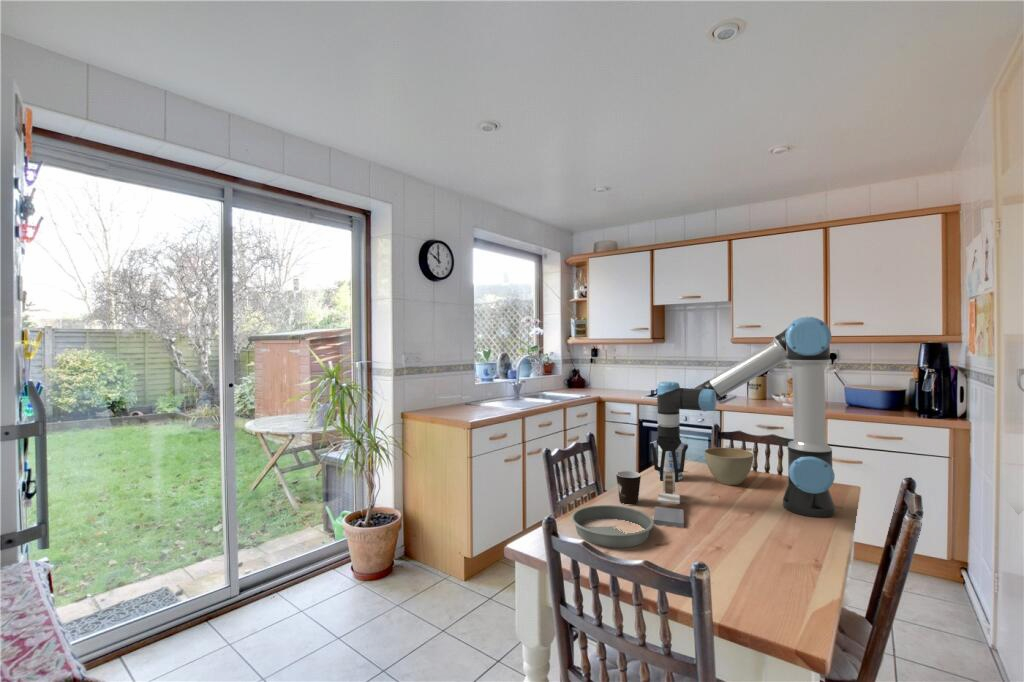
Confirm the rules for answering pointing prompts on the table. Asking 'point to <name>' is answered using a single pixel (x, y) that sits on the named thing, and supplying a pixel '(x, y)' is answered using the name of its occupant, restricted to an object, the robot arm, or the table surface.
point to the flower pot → (729, 464)
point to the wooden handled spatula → (669, 491)
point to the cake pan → (609, 534)
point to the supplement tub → (670, 461)
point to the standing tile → (668, 517)
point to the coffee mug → (628, 486)
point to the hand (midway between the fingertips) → (669, 490)
